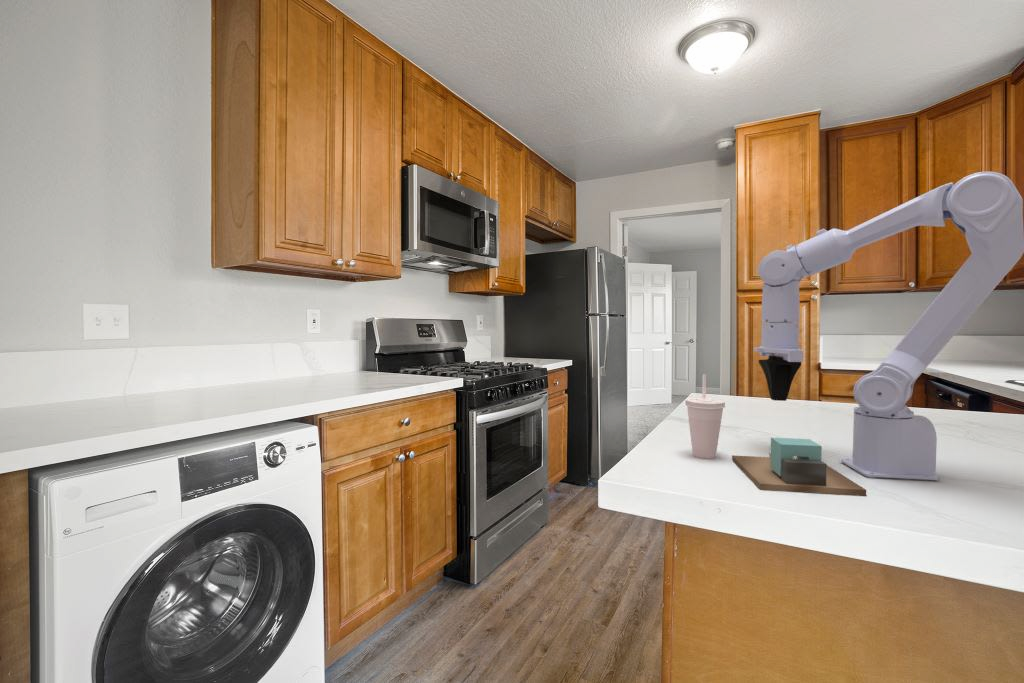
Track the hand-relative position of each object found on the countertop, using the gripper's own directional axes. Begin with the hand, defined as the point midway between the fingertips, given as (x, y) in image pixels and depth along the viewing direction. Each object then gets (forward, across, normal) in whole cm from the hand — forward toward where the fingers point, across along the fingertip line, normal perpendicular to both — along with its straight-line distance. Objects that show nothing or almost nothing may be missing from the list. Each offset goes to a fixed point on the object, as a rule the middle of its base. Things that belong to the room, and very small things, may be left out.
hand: (778, 400), depth 82 cm
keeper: (+8, +15, -3) cm, 18 cm away
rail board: (+9, +13, -2) cm, 16 cm away
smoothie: (+10, +4, -13) cm, 17 cm away
